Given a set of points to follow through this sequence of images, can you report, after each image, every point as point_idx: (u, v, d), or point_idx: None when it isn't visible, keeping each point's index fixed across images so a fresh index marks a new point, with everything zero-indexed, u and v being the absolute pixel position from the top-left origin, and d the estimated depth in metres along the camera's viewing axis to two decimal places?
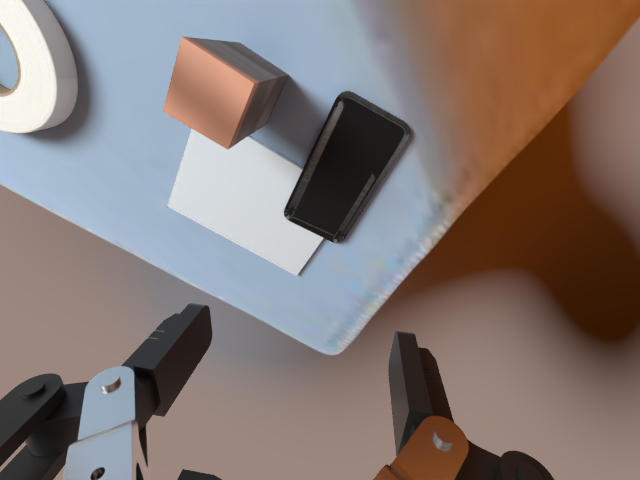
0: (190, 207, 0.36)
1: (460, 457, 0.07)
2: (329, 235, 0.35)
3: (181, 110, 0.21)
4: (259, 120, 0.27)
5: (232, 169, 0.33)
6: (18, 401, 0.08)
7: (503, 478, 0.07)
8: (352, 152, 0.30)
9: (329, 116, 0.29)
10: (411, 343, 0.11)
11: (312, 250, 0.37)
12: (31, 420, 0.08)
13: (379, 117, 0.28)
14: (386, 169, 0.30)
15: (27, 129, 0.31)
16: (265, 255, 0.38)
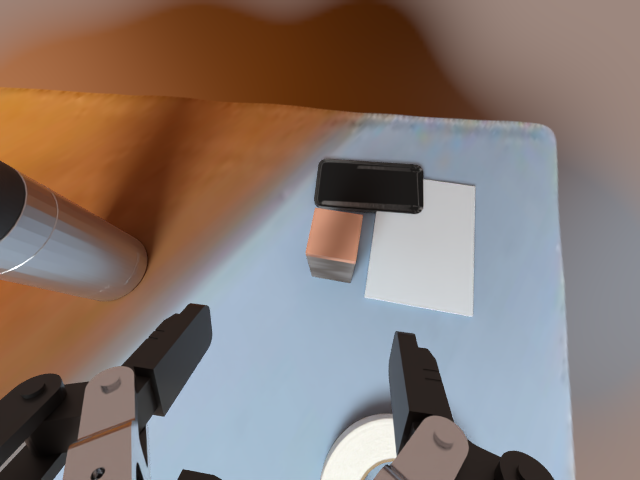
0: (459, 293, 0.37)
1: (460, 457, 0.07)
2: (418, 175, 0.43)
3: (349, 248, 0.30)
4: None
5: (402, 261, 0.39)
6: (18, 401, 0.08)
7: (503, 478, 0.07)
8: (349, 184, 0.43)
9: (333, 206, 0.42)
10: (411, 343, 0.11)
11: (440, 183, 0.42)
12: (31, 420, 0.08)
13: (321, 179, 0.43)
14: (350, 161, 0.44)
15: None
16: (470, 216, 0.40)
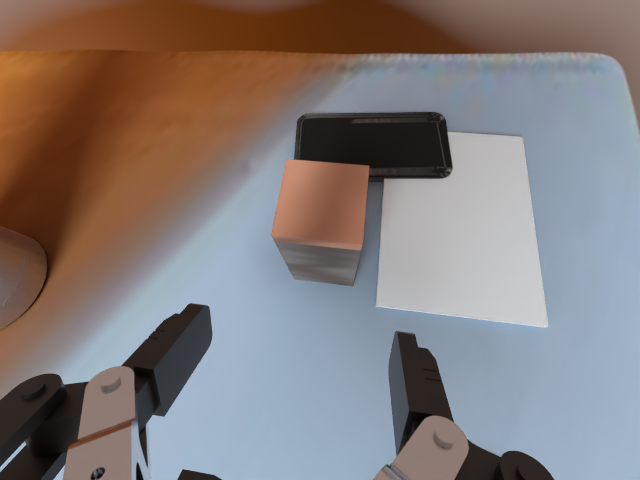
0: (522, 291, 0.24)
1: (460, 457, 0.07)
2: (440, 126, 0.30)
3: (350, 223, 0.17)
4: None
5: (429, 249, 0.26)
6: (18, 401, 0.08)
7: (503, 478, 0.07)
8: (342, 145, 0.30)
9: None
10: (411, 343, 0.11)
11: (472, 135, 0.30)
12: (31, 420, 0.08)
13: (302, 141, 0.30)
14: (341, 115, 0.31)
15: None
16: (522, 178, 0.28)
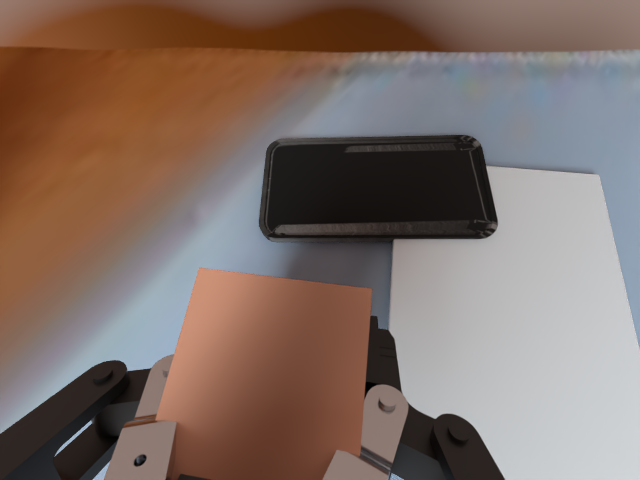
0: (626, 446, 0.14)
1: (399, 418, 0.08)
2: (474, 155, 0.21)
3: (326, 446, 0.07)
4: None
5: (467, 362, 0.16)
6: (88, 383, 0.09)
7: (438, 442, 0.08)
8: (331, 186, 0.20)
9: (300, 235, 0.19)
10: (372, 324, 0.12)
11: (524, 171, 0.20)
12: (94, 405, 0.08)
13: (273, 180, 0.21)
14: (330, 140, 0.22)
15: None
16: (605, 242, 0.18)
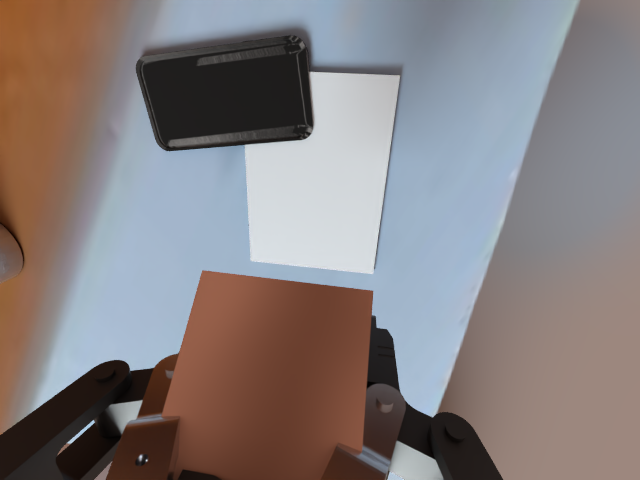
0: (360, 250, 0.30)
1: (396, 417, 0.08)
2: (300, 59, 0.24)
3: (328, 446, 0.07)
4: None
5: (289, 217, 0.30)
6: (91, 383, 0.09)
7: (435, 440, 0.08)
8: (195, 103, 0.27)
9: (185, 148, 0.28)
10: None
11: (340, 76, 0.24)
12: (96, 405, 0.08)
13: (152, 100, 0.27)
14: (182, 53, 0.25)
15: None
16: (384, 139, 0.26)
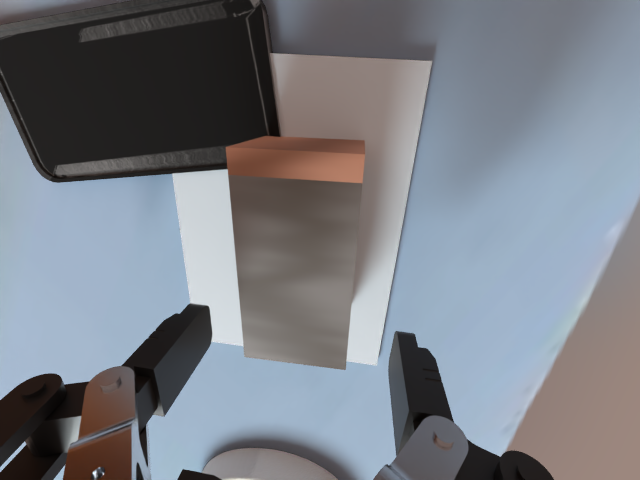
0: (357, 332, 0.20)
1: (460, 457, 0.07)
2: (253, 27, 0.13)
3: (344, 148, 0.11)
4: None
5: None
6: (18, 401, 0.08)
7: (503, 478, 0.07)
8: (87, 107, 0.16)
9: (80, 178, 0.18)
10: (411, 343, 0.11)
11: (325, 61, 0.14)
12: (31, 420, 0.08)
13: (19, 103, 0.16)
14: (52, 20, 0.14)
15: None
16: (401, 170, 0.15)
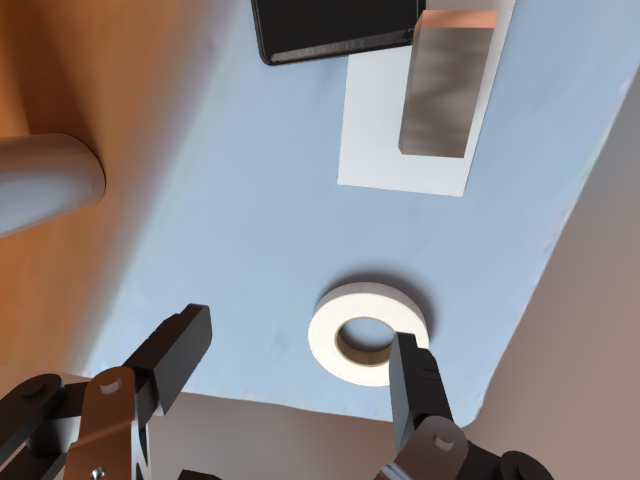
0: (452, 170, 0.30)
1: (460, 457, 0.07)
2: None
3: None
4: None
5: (383, 135, 0.30)
6: (18, 401, 0.08)
7: (503, 478, 0.07)
8: (304, 12, 0.27)
9: (288, 61, 0.28)
10: (411, 343, 0.11)
11: None
12: (31, 420, 0.08)
13: (260, 11, 0.27)
14: None
15: (418, 320, 0.36)
16: (496, 46, 0.26)
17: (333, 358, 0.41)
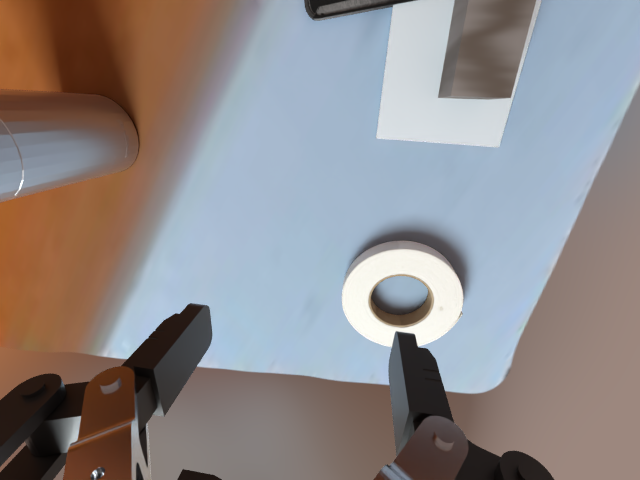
0: (490, 120, 0.31)
1: (460, 457, 0.07)
2: None
3: None
4: None
5: (424, 86, 0.31)
6: (18, 401, 0.08)
7: (503, 478, 0.07)
8: None
9: (334, 13, 0.29)
10: (411, 343, 0.11)
11: None
12: (31, 420, 0.08)
13: None
14: None
15: (453, 274, 0.36)
16: None
17: (366, 320, 0.41)
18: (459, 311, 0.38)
